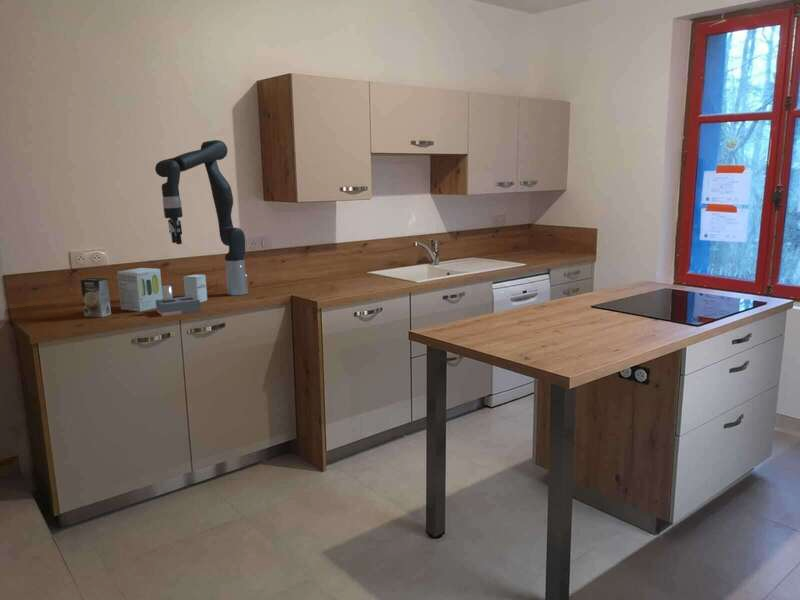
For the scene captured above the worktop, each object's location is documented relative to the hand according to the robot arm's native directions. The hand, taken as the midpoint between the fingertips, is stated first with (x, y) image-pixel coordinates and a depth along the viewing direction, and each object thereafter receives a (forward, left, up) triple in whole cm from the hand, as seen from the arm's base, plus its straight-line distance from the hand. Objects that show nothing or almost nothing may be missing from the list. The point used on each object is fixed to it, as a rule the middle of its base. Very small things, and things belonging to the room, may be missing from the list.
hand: (177, 243), depth 282 cm
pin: (+8, +10, -27) cm, 30 cm away
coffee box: (+35, -3, -29) cm, 45 cm away
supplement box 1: (+16, -9, -29) cm, 34 cm away
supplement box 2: (-8, -9, -29) cm, 32 cm away
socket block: (+4, +10, -29) cm, 31 cm away
